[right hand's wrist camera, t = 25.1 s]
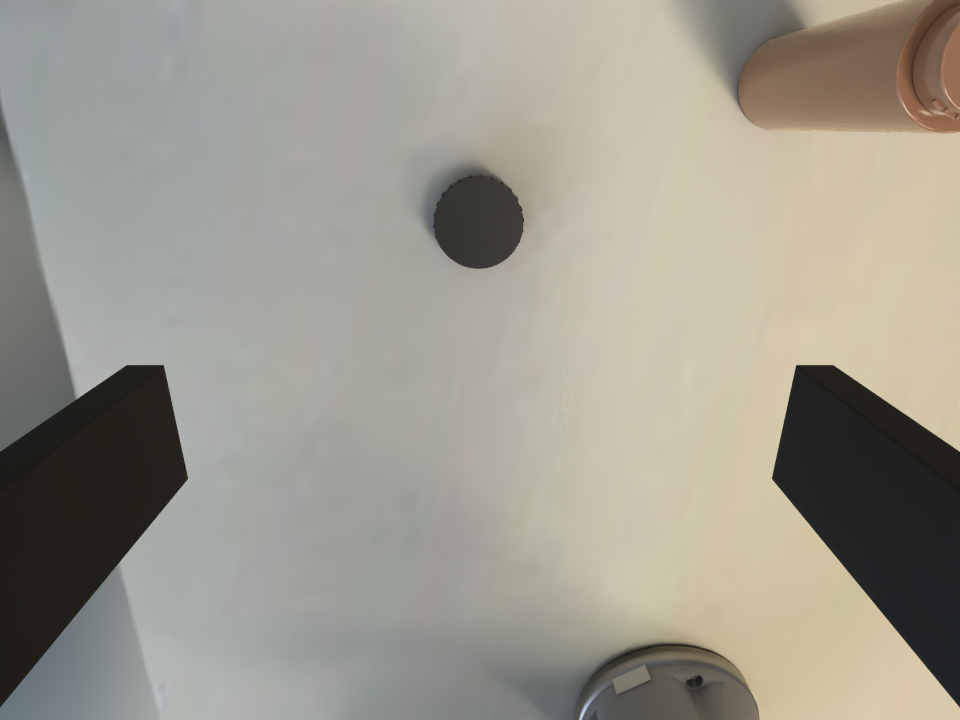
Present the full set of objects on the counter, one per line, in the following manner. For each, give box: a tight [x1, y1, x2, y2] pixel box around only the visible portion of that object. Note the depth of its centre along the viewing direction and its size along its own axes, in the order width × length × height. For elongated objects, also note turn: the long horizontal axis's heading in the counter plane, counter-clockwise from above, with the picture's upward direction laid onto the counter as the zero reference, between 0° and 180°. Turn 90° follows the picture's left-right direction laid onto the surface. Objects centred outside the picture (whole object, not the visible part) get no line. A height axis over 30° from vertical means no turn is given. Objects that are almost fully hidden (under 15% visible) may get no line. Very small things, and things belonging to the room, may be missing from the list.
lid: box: [433, 175, 524, 269], centre depth 36 cm, size 5×5×2 cm
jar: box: [738, 0, 960, 133], centre depth 27 cm, size 5×5×15 cm
